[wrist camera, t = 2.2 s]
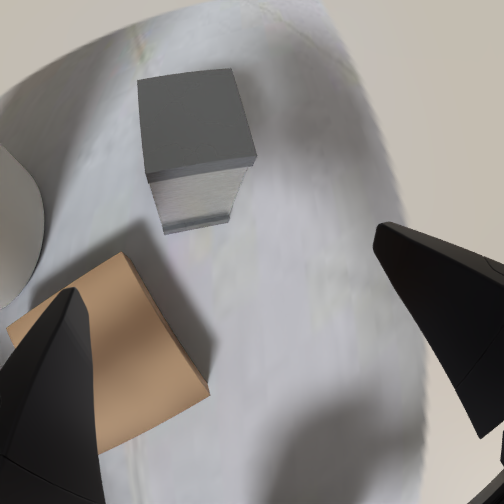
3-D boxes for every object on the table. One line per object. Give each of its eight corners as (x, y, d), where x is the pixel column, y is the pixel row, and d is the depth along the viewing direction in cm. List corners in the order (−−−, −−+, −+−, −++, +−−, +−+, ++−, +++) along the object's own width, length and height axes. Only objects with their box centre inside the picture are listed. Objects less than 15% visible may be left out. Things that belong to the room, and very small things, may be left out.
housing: (227, 222, 22) (257, 155, 12) (164, 235, 21) (145, 173, 11) (213, 159, 23) (231, 68, 13) (154, 169, 22) (137, 80, 12)
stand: (207, 384, 20) (210, 395, 17) (97, 444, 17) (85, 460, 14) (130, 259, 20) (121, 251, 17) (26, 327, 18) (6, 328, 15)
